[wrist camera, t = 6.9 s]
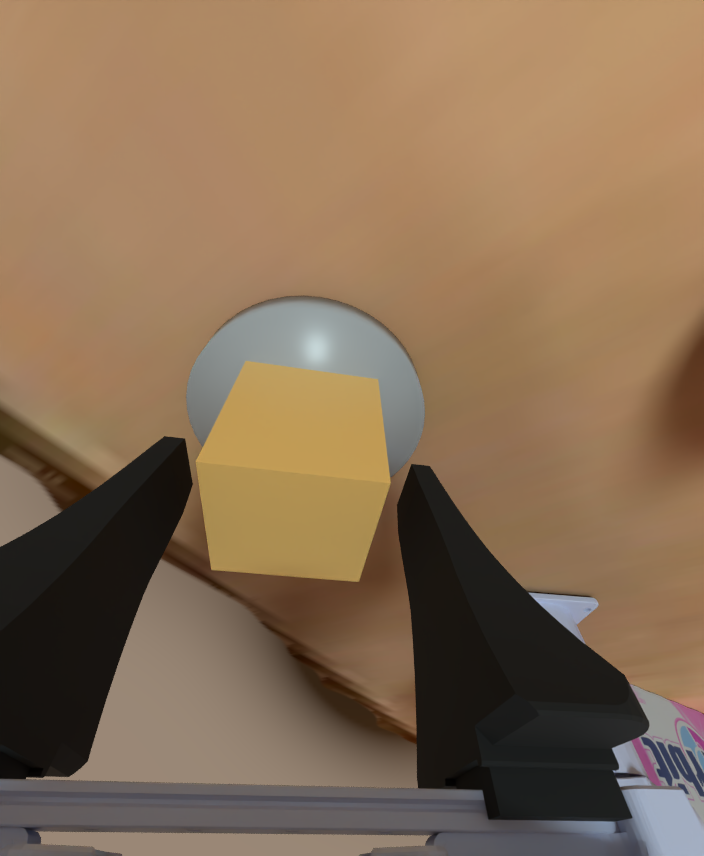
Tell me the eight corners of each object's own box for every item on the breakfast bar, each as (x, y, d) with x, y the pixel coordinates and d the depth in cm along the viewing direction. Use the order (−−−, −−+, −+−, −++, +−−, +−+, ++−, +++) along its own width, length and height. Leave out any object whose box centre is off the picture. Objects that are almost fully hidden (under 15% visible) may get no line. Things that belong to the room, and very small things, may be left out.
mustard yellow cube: (356, 471, 15) (358, 582, 12) (247, 459, 15) (211, 569, 11) (378, 378, 13) (390, 483, 9) (245, 360, 12) (195, 461, 8)
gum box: (720, 717, 42) (846, 910, 32) (653, 732, 46) (745, 908, 36) (608, 673, 34) (728, 919, 23) (537, 696, 38) (611, 915, 27)
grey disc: (392, 491, 18) (402, 568, 15) (207, 471, 17) (173, 549, 14) (449, 317, 13) (485, 377, 9) (183, 275, 12) (117, 326, 8)
